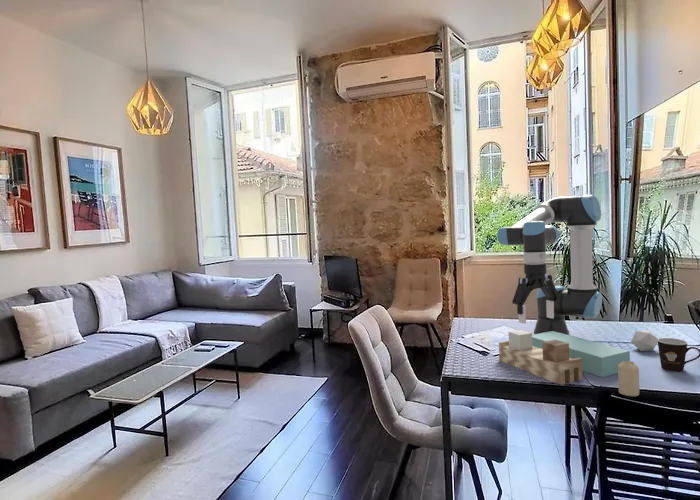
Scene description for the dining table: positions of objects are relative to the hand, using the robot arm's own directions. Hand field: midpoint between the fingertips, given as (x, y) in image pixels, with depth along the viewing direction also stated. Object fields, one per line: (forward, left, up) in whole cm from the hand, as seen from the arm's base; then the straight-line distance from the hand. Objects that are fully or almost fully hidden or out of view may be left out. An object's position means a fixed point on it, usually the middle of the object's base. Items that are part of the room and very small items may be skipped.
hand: (536, 320), depth 161 cm
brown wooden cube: (+8, 0, -12) cm, 15 cm away
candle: (+30, +7, -19) cm, 36 cm away
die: (+5, +52, -19) cm, 56 cm away
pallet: (0, 0, -19) cm, 19 cm away
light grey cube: (-9, 0, -12) cm, 15 cm away
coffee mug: (+25, +39, -19) cm, 50 cm away
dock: (0, +19, -19) cm, 27 cm away
